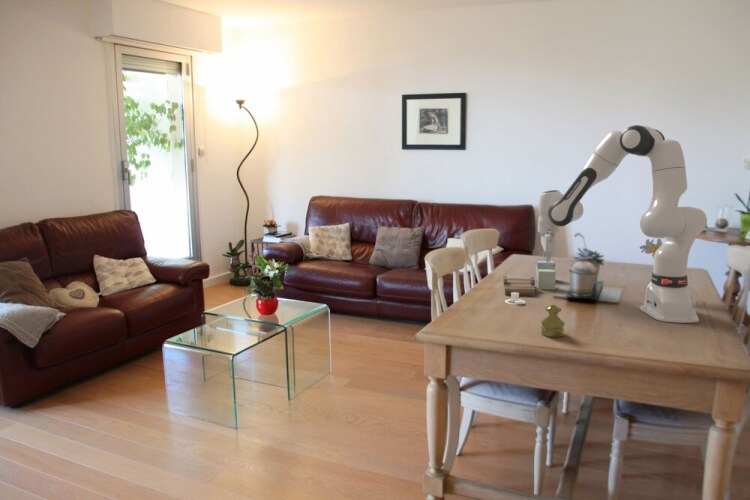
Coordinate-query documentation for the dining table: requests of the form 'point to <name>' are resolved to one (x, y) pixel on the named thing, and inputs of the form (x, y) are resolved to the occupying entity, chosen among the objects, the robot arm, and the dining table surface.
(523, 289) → the stand
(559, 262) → the dining table surface
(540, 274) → the green block
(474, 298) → the dining table surface
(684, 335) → the dining table surface
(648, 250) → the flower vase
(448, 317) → the dining table surface
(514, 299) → the teacup and saucer
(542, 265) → the medicine box
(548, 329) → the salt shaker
